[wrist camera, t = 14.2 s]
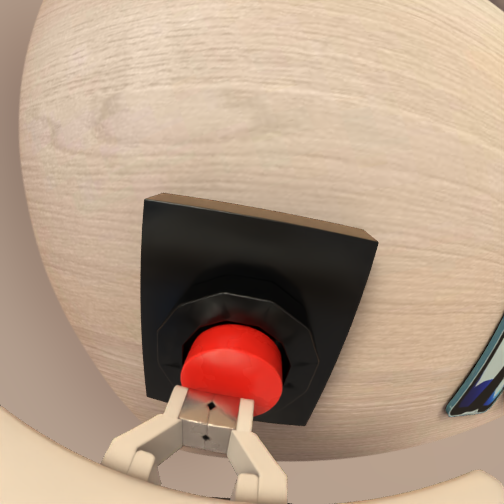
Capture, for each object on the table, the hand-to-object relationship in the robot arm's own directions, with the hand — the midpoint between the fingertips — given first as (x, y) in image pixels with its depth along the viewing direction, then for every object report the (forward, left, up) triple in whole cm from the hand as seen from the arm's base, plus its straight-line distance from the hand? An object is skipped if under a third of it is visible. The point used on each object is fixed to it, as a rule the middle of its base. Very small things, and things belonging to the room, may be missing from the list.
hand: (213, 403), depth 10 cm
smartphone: (+1, -23, -6) cm, 23 cm away
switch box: (0, -1, -6) cm, 6 cm away
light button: (0, 0, -2) cm, 2 cm away
